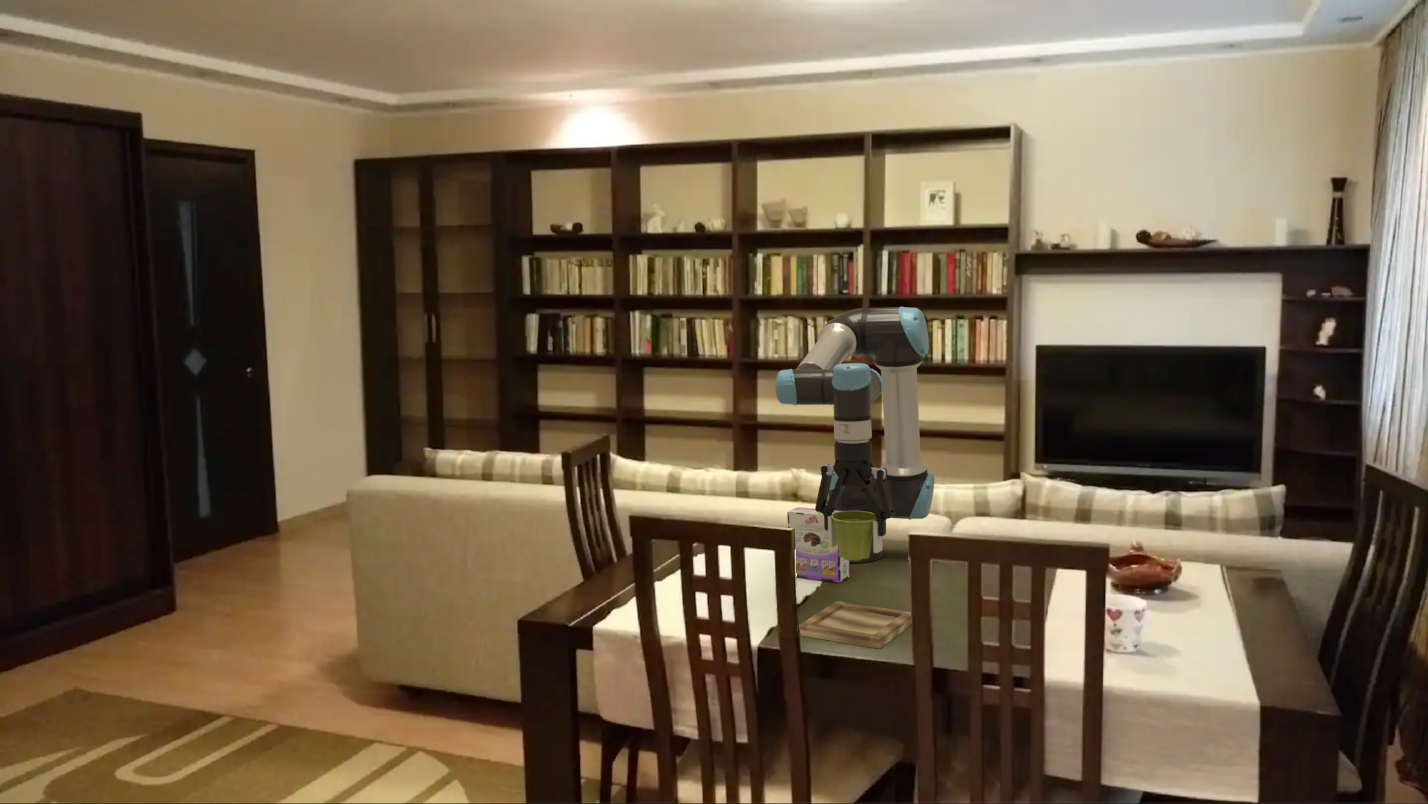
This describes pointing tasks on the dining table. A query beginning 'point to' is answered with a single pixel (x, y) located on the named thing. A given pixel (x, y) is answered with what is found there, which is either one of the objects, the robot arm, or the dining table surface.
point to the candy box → (815, 548)
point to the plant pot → (854, 533)
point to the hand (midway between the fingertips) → (855, 548)
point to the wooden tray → (856, 624)
